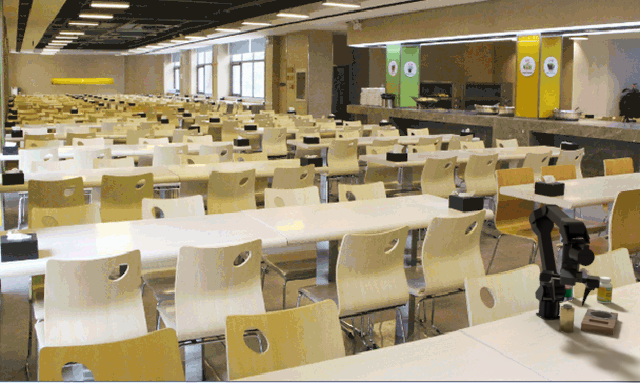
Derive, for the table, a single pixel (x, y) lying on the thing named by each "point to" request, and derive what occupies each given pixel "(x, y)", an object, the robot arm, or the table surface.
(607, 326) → the socket block
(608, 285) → the supplement bottle
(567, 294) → the soda can
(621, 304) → the table surface
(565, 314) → the tan salt shaker
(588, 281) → the robot arm
